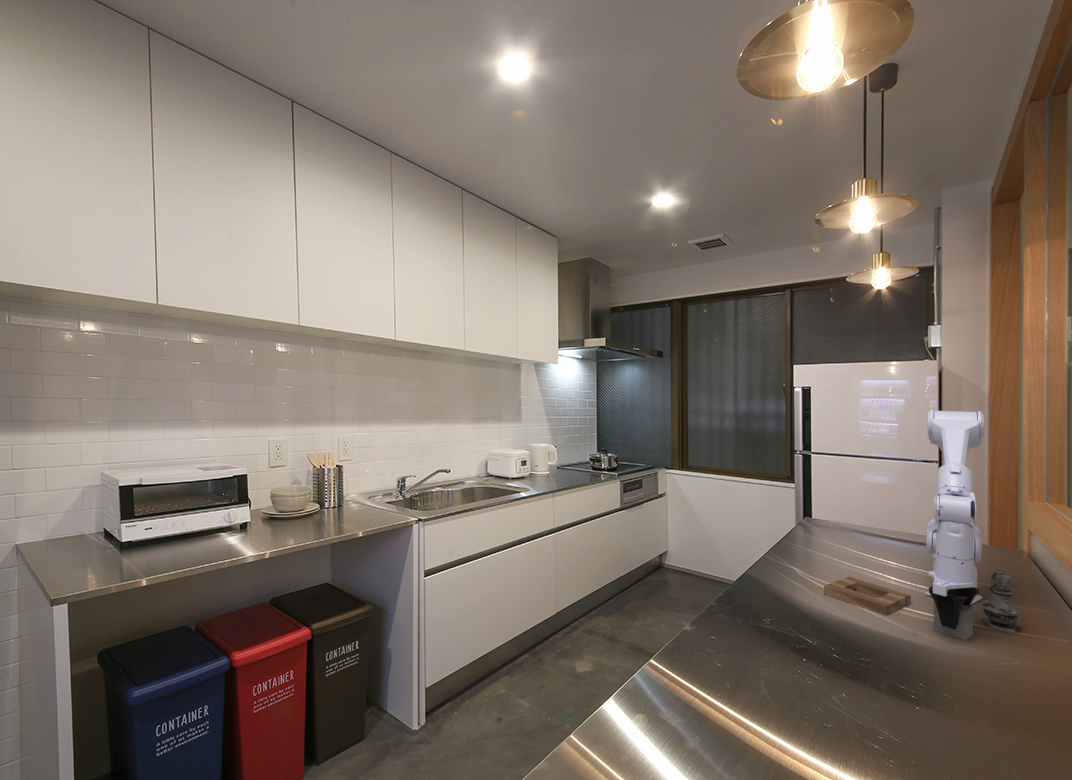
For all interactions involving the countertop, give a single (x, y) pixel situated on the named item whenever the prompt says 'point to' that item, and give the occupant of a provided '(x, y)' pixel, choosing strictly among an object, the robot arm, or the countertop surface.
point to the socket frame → (882, 603)
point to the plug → (963, 627)
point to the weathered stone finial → (1000, 604)
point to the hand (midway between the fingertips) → (953, 624)
